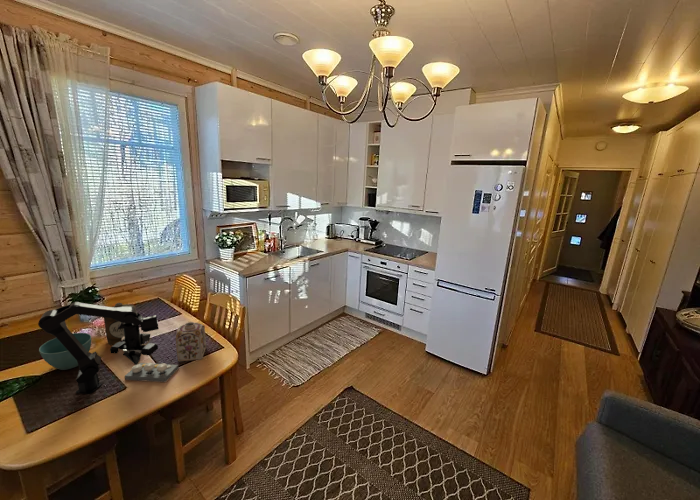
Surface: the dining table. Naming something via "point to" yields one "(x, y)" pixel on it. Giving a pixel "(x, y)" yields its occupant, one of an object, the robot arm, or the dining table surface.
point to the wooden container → (114, 327)
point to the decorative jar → (190, 342)
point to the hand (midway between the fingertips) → (136, 364)
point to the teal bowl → (63, 352)
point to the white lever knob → (161, 368)
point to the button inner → (137, 368)
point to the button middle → (149, 367)
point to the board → (152, 374)
